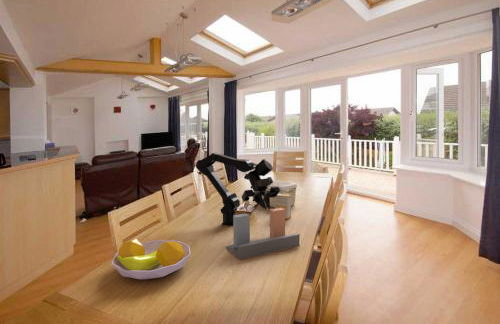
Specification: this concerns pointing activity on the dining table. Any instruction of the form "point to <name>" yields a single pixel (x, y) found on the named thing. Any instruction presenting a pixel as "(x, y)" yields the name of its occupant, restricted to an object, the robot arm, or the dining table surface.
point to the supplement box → (284, 203)
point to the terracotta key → (277, 222)
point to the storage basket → (283, 190)
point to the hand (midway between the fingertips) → (267, 208)
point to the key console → (264, 246)
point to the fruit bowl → (150, 258)
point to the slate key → (241, 229)
